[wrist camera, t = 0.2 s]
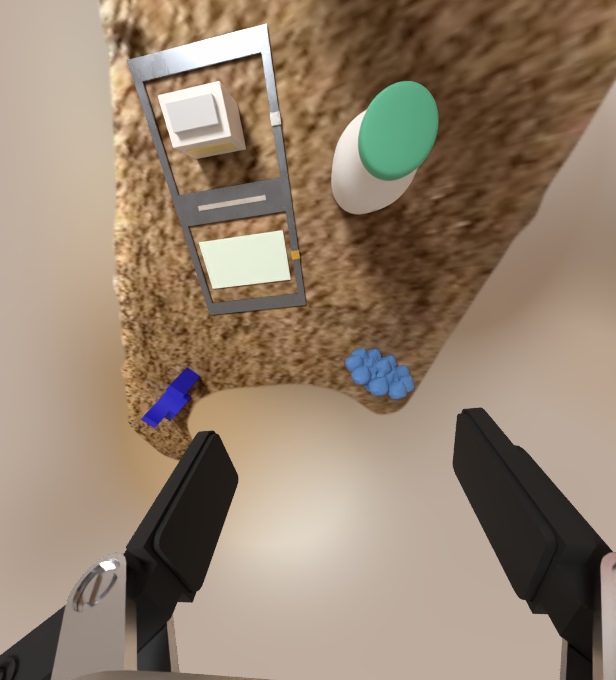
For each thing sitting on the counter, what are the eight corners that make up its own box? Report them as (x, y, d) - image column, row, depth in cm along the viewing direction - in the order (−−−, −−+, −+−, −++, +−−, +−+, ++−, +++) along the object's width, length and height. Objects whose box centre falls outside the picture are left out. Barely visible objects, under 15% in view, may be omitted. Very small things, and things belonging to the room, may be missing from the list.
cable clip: (178, 410, 53) (161, 432, 48) (160, 399, 52) (140, 419, 47) (206, 380, 49) (191, 399, 44) (187, 366, 48) (169, 385, 42)
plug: (185, 116, 31) (153, 92, 25) (237, 104, 30) (216, 77, 24) (197, 160, 32) (170, 147, 27) (246, 150, 32) (229, 135, 26)
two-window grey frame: (129, 61, 29) (125, 59, 28) (267, 25, 26) (266, 22, 26) (210, 314, 42) (209, 315, 42) (306, 304, 40) (306, 305, 40)
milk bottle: (341, 223, 34) (355, 225, 16) (323, 163, 31) (315, 85, 14) (396, 200, 33) (477, 173, 15) (381, 133, 30) (461, -2, 12)
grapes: (333, 361, 44) (335, 405, 34) (349, 330, 42) (356, 367, 31) (390, 381, 45) (409, 430, 35) (409, 352, 43) (436, 396, 32)
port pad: (199, 242, 37) (198, 242, 37) (282, 230, 35) (282, 230, 35) (213, 288, 40) (212, 288, 40) (290, 279, 38) (290, 279, 38)
